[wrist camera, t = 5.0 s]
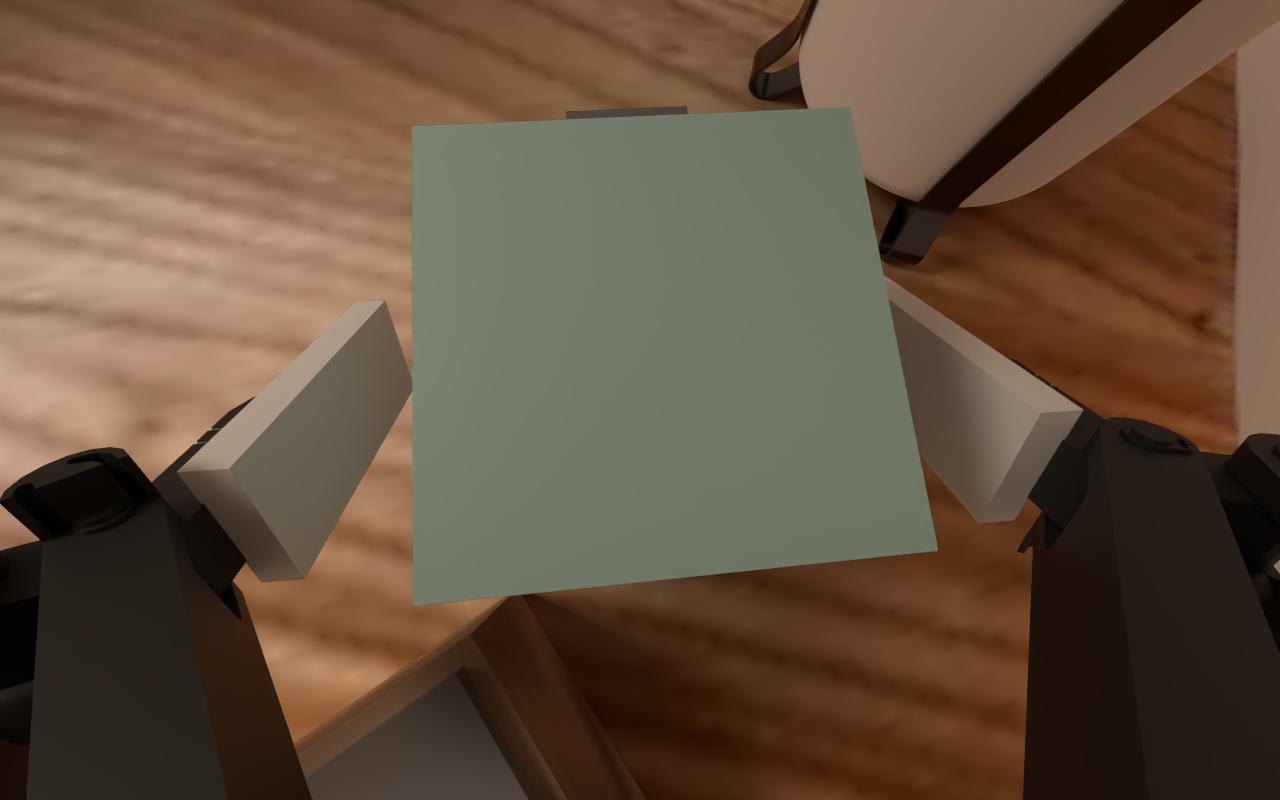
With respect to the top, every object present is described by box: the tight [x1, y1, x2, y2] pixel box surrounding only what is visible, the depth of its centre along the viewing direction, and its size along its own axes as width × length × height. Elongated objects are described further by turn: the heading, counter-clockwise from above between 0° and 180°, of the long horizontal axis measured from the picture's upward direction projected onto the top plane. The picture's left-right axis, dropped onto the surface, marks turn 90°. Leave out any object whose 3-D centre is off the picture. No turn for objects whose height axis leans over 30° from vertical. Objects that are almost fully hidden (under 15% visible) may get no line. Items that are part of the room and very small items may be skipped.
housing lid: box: [412, 106, 938, 606], centre depth 9 cm, size 7×9×5 cm
